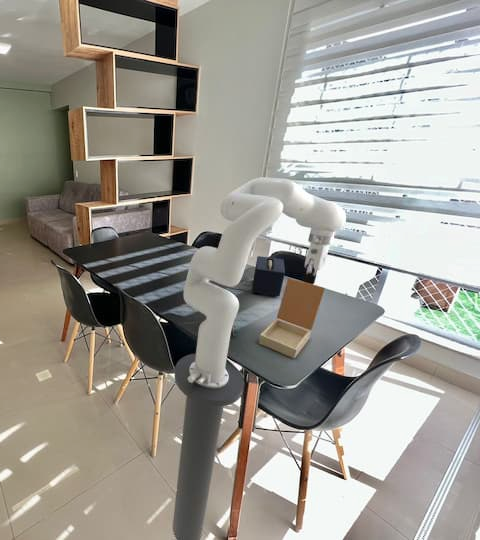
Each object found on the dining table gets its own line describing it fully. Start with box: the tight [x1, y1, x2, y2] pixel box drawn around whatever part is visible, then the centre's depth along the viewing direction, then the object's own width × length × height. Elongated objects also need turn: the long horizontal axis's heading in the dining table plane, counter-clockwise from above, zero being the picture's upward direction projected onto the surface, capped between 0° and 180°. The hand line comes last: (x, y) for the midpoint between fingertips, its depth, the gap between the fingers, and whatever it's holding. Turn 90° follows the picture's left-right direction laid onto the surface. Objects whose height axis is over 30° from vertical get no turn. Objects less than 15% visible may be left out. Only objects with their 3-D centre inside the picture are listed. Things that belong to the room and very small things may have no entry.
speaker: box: [251, 255, 286, 298], centre depth 152 cm, size 22×13×15 cm, turn 154°
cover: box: [276, 277, 326, 331], centre depth 113 cm, size 17×13×1 cm
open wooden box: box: [257, 318, 312, 359], centre depth 110 cm, size 17×13×4 cm
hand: (308, 283), depth 114 cm, fingers closed
